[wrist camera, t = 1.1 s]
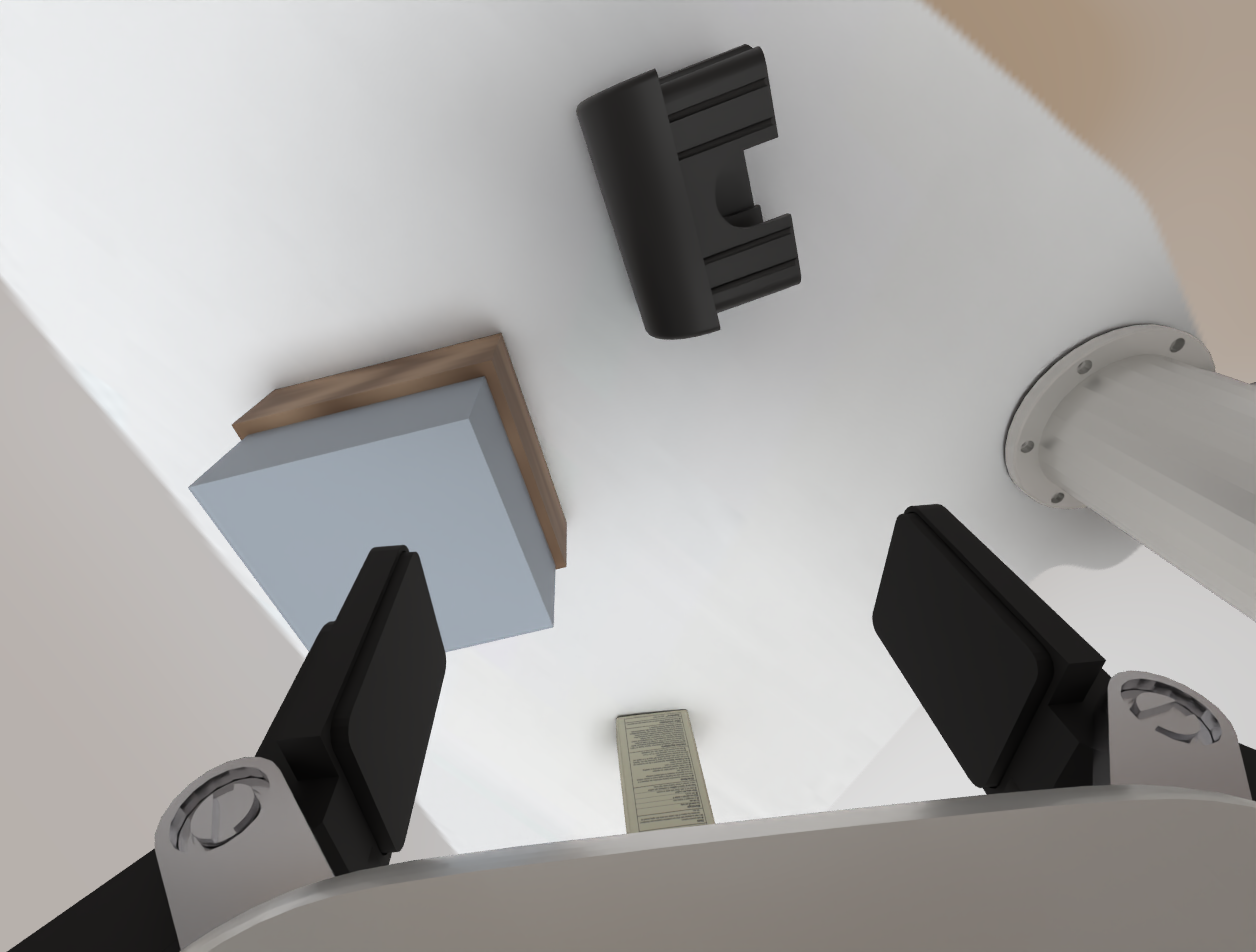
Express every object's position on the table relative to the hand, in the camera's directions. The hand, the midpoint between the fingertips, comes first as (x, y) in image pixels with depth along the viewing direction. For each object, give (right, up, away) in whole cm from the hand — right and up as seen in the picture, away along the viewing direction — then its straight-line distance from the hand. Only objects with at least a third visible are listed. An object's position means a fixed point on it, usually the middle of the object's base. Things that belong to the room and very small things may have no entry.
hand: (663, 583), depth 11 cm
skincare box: (+1, -19, +38) cm, 42 cm away
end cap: (+2, +16, +17) cm, 24 cm away
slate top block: (-12, +1, +19) cm, 23 cm away
